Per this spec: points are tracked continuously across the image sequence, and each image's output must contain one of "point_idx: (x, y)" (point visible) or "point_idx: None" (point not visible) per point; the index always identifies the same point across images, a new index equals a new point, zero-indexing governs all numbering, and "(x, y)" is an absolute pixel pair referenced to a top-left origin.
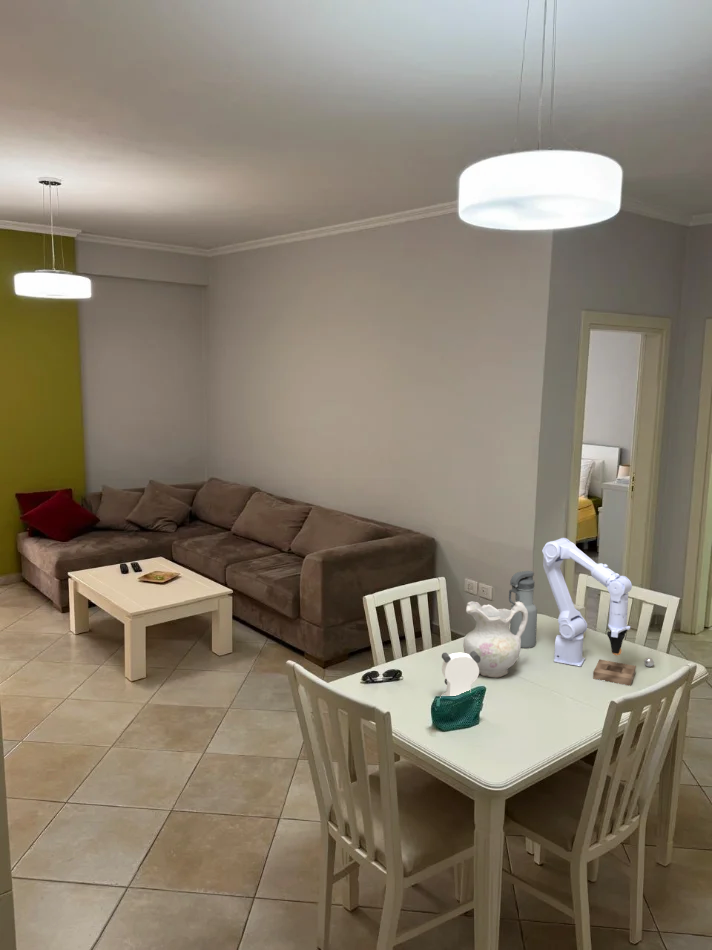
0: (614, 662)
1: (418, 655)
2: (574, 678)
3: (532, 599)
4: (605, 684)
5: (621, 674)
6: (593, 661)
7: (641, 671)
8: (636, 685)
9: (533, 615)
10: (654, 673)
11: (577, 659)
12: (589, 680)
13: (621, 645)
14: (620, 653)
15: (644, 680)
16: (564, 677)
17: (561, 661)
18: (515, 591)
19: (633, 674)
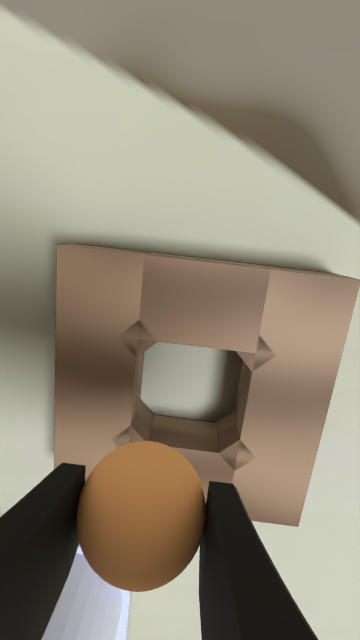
0: (63, 402)
1: None
2: (310, 569)
3: None
4: (351, 422)
5: (292, 352)
6: (13, 487)
7: (32, 199)
8: (312, 233)
9: None
10: (25, 96)
11: (101, 597)
12: (315, 503)
13: (46, 502)
14: (169, 448)
15: (197, 175)
16: (311, 609)
17: (119, 636)
18: None
19: (191, 258)
